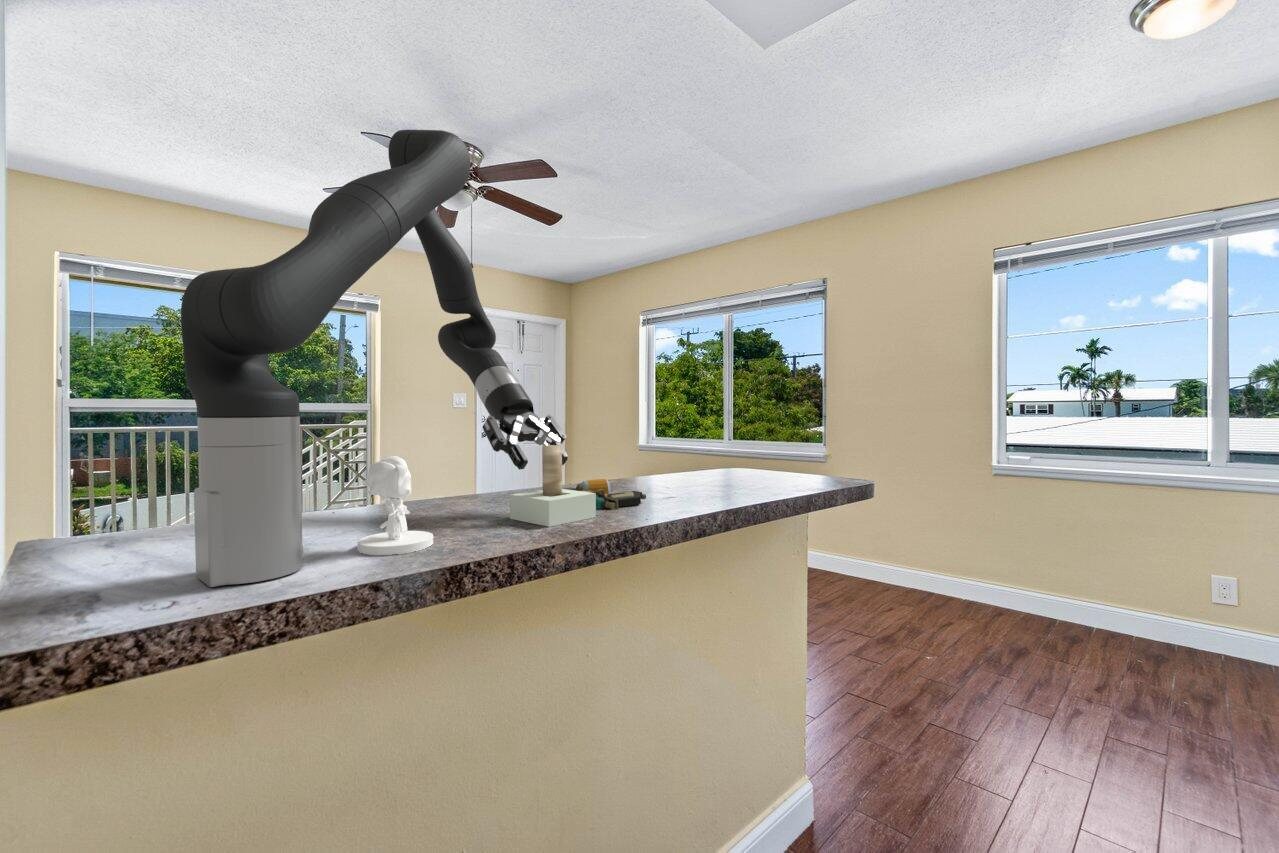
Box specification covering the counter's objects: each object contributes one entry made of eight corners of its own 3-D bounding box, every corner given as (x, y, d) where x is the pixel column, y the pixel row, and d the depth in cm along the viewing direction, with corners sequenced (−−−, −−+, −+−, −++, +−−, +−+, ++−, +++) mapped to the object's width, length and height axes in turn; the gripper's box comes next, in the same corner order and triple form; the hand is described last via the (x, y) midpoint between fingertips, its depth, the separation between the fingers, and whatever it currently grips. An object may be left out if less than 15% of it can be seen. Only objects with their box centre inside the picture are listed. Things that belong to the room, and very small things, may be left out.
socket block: (549, 526, 86) (549, 500, 86) (509, 518, 93) (509, 494, 93) (595, 517, 94) (595, 493, 94) (556, 510, 100) (556, 487, 100)
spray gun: (654, 509, 107) (588, 523, 97) (603, 494, 120) (540, 504, 110) (654, 487, 106) (588, 498, 97) (603, 474, 119) (540, 482, 110)
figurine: (406, 557, 69) (404, 459, 68) (341, 553, 71) (339, 458, 70) (446, 540, 78) (445, 453, 77) (387, 537, 80) (386, 452, 79)
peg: (551, 520, 91) (550, 446, 91) (538, 518, 93) (538, 445, 93) (566, 517, 93) (565, 445, 93) (553, 515, 96) (553, 444, 95)
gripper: (477, 380, 94) (519, 451, 87) (543, 382, 105) (586, 446, 98) (460, 411, 98) (499, 483, 91) (526, 411, 109) (566, 474, 102)
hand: (544, 464), depth 94 cm, fingers open, 8 cm apart
